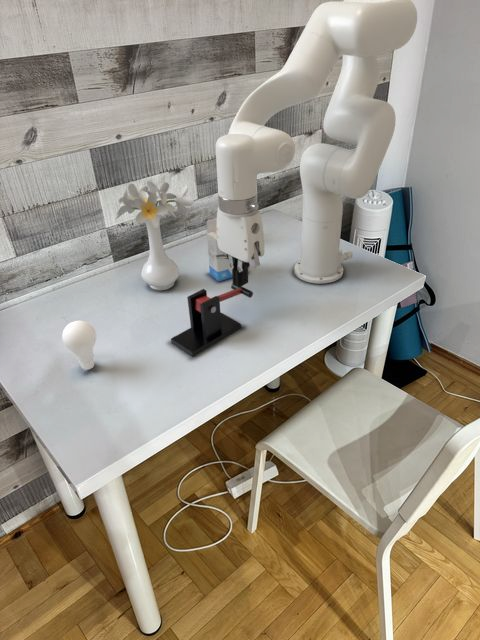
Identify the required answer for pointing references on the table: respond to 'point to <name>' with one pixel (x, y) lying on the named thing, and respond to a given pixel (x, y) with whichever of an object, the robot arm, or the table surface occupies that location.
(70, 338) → the lightbulb
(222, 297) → the red lever handle
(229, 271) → the ink box
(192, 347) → the black lever base
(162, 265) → the flower vase
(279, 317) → the table surface
